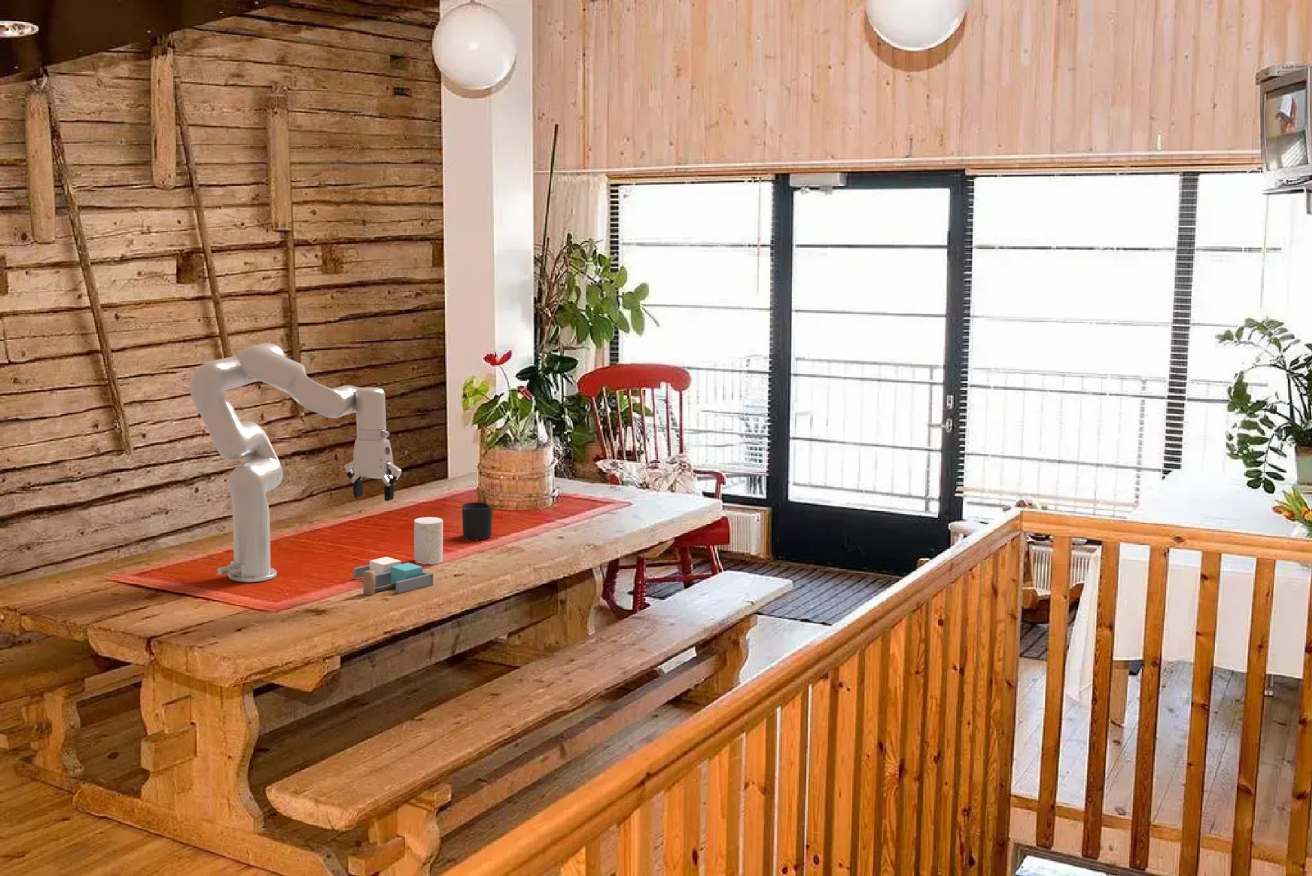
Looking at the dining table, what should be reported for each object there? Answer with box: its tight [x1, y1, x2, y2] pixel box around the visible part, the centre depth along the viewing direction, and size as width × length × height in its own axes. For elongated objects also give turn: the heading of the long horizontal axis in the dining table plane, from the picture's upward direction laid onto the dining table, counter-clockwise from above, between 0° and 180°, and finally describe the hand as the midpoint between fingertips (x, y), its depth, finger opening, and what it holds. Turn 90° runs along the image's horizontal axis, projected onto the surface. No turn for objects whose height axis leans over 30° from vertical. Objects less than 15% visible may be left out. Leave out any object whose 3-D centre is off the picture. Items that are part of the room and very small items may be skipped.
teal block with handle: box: [362, 562, 424, 597], centre depth 347 cm, size 17×6×6 cm, turn 140°
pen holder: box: [461, 501, 494, 540], centre depth 404 cm, size 9×9×10 cm
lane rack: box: [352, 564, 434, 594], centre depth 354 cm, size 12×19×3 cm, turn 50°
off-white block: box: [369, 556, 402, 575], centre depth 357 cm, size 6×6×5 cm
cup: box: [413, 516, 444, 565], centre depth 375 cm, size 8×8×12 cm
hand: (373, 498), depth 345 cm, fingers open, 9 cm apart
